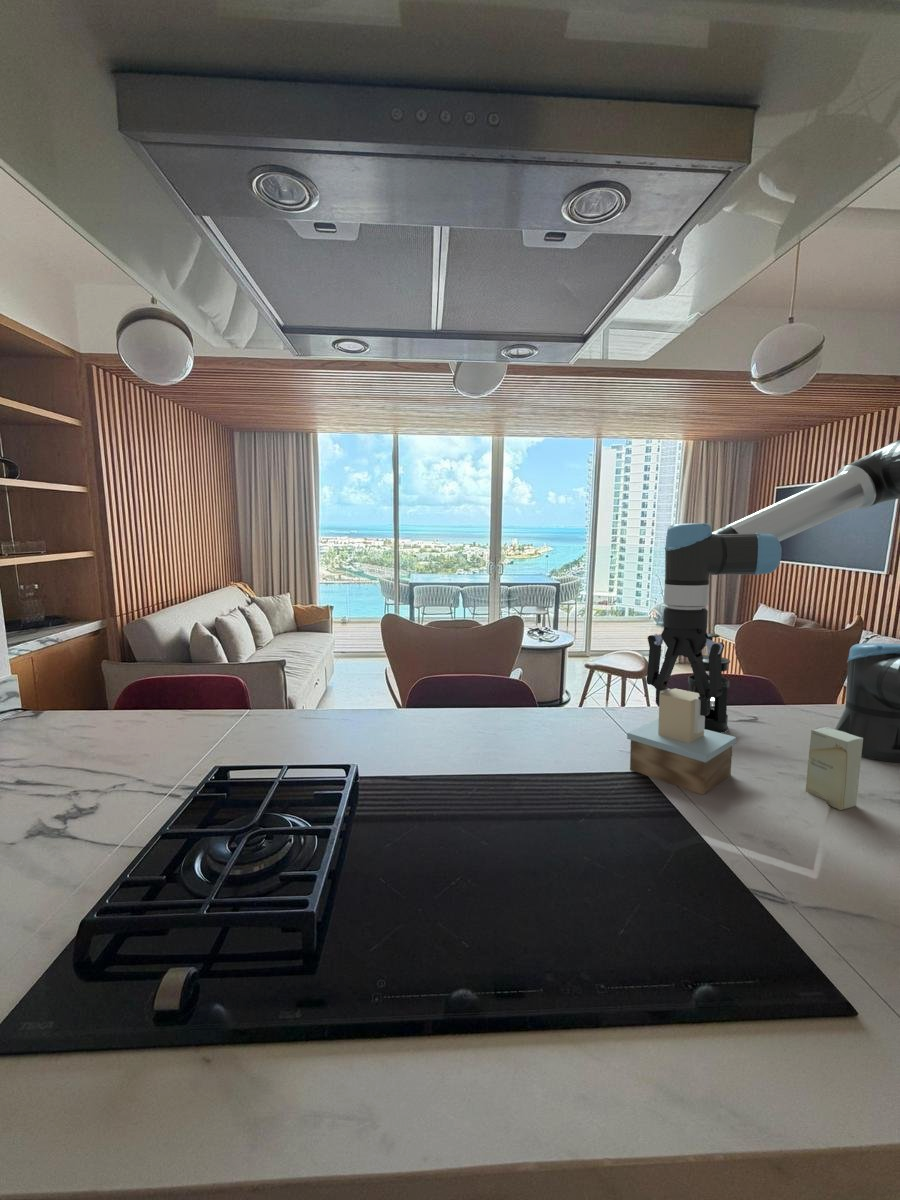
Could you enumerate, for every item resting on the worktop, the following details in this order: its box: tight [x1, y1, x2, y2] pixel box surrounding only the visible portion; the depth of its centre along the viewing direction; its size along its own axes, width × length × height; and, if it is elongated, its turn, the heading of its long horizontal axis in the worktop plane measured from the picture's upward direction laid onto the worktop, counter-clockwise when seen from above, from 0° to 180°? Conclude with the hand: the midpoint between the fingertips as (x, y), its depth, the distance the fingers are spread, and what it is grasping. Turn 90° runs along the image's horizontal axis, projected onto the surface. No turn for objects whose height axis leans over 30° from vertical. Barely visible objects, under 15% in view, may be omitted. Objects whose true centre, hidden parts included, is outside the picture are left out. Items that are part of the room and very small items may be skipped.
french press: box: [687, 632, 731, 733], centre depth 125 cm, size 12×9×23 cm
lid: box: [626, 687, 737, 763], centre depth 99 cm, size 15×13×9 cm
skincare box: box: [805, 725, 863, 811], centre depth 90 cm, size 6×4×12 cm
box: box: [629, 740, 733, 796], centre depth 100 cm, size 14×12×7 cm
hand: (681, 726), depth 99 cm, fingers open, 6 cm apart
